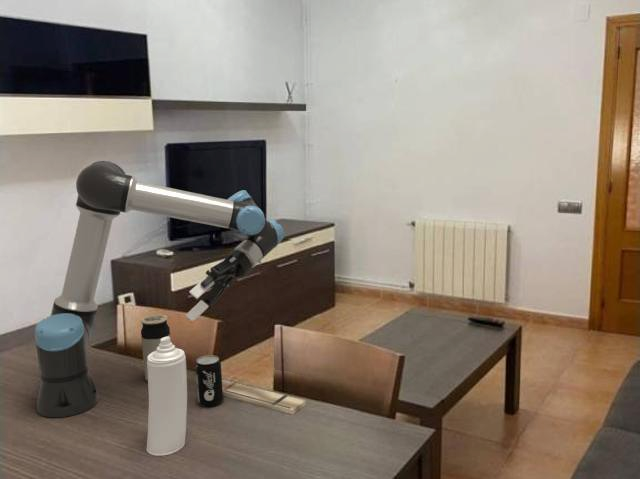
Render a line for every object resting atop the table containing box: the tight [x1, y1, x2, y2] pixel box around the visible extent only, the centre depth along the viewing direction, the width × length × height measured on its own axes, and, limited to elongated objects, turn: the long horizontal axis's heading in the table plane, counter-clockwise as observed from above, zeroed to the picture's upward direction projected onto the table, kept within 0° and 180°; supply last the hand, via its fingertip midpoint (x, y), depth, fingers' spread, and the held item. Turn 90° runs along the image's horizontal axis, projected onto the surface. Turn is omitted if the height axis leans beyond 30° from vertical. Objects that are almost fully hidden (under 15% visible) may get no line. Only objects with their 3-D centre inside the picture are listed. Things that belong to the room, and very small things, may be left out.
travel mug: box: [140, 314, 172, 382], centre depth 178 cm, size 8×8×18 cm
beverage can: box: [194, 354, 224, 408], centre depth 162 cm, size 7×7×12 cm
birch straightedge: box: [222, 378, 307, 415], centre depth 165 cm, size 6×30×1 cm, turn 58°
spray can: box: [146, 336, 188, 457], centre depth 141 cm, size 12×11×25 cm
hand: (190, 307), depth 163 cm, fingers open, 13 cm apart
